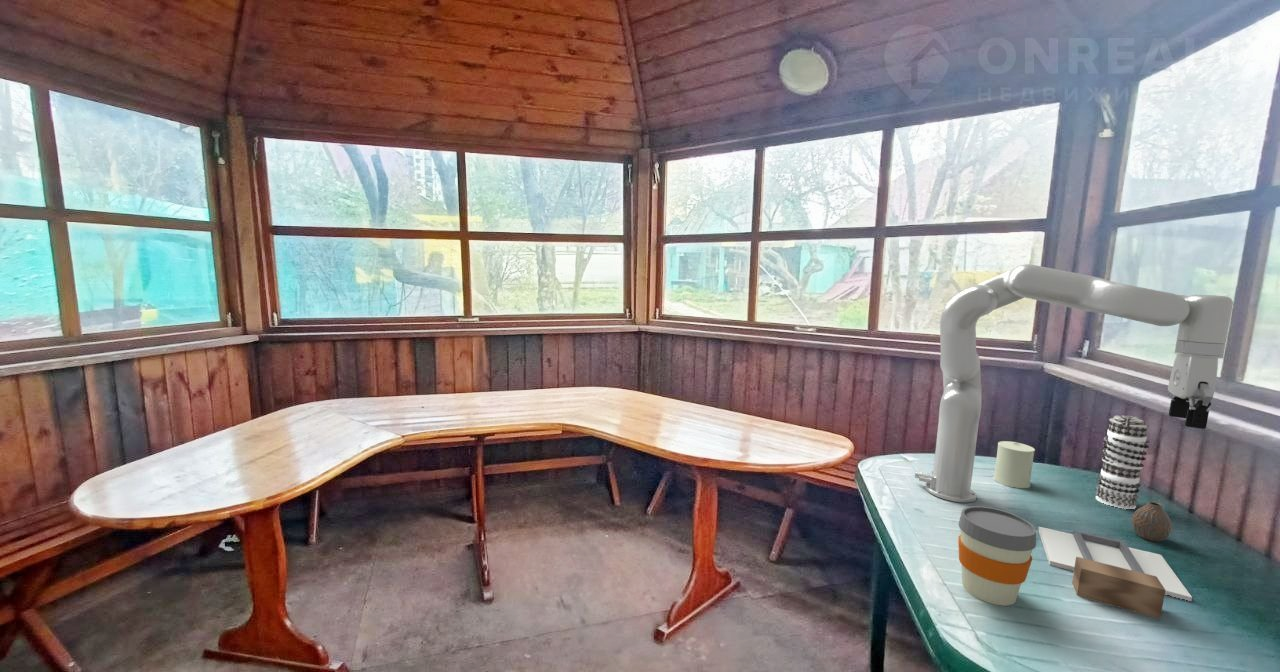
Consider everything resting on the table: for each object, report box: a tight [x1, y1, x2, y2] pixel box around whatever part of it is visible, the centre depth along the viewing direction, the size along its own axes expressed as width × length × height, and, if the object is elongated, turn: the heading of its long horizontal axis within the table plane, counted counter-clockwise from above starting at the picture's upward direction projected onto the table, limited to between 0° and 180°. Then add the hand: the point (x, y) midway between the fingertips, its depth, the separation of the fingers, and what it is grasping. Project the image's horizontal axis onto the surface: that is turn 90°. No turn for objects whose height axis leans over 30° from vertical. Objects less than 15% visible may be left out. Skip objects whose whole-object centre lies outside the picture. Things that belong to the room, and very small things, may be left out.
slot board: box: [1038, 526, 1193, 602], centre depth 113 cm, size 22×18×2 cm
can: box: [992, 440, 1036, 489], centre depth 155 cm, size 9×9×12 cm
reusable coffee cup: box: [957, 505, 1037, 607], centre depth 100 cm, size 13×13×15 cm
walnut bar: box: [1071, 557, 1166, 620], centre depth 99 cm, size 12×5×6 cm, turn 58°
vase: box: [1131, 501, 1173, 543], centre depth 124 cm, size 7×7×9 cm
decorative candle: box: [1095, 414, 1150, 510], centre depth 141 cm, size 9×9×25 cm
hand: (1186, 422), depth 117 cm, fingers open, 9 cm apart
